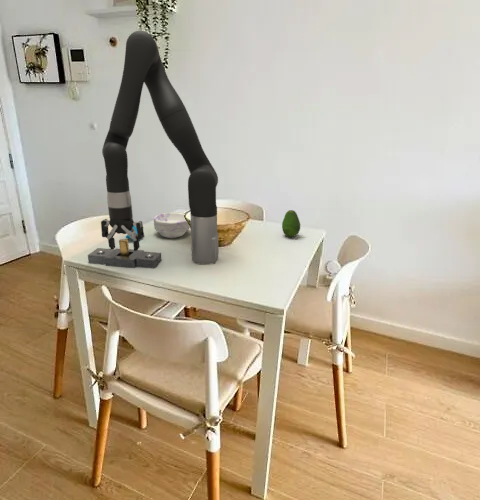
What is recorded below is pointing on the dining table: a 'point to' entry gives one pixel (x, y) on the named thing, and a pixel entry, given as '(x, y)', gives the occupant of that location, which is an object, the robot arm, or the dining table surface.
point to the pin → (124, 247)
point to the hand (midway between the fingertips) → (124, 249)
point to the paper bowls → (171, 224)
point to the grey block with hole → (125, 258)
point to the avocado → (291, 224)
